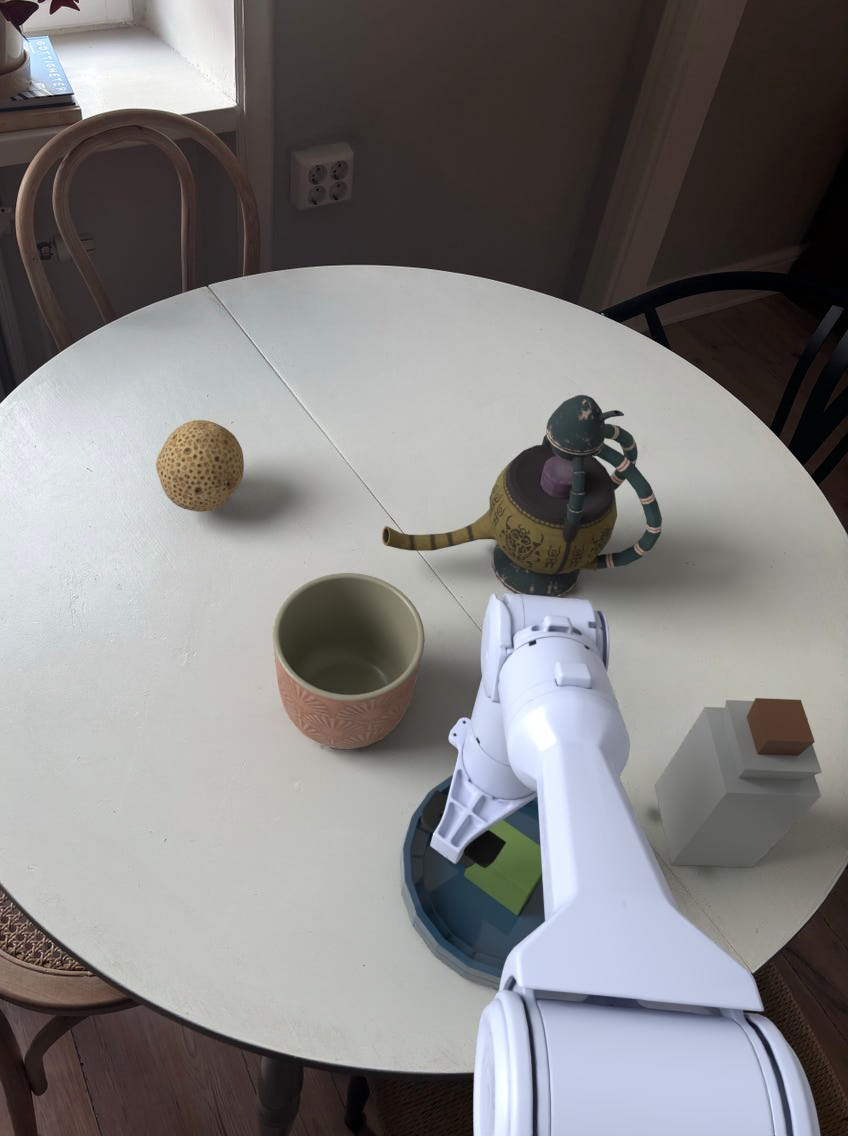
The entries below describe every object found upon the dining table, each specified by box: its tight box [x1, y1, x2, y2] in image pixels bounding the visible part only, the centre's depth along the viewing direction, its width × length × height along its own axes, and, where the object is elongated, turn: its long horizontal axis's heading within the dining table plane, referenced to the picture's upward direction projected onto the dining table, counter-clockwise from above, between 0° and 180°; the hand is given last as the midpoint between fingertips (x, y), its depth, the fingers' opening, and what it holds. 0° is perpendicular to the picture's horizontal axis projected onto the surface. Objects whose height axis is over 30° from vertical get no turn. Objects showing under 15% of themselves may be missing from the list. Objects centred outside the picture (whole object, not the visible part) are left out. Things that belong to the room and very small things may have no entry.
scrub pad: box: [464, 820, 542, 916], centre depth 72 cm, size 5×4×5 cm
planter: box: [272, 572, 426, 750], centre depth 80 cm, size 12×12×11 cm
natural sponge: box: [155, 419, 245, 513], centre depth 96 cm, size 9×9×10 cm
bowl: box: [399, 773, 545, 991], centre depth 73 cm, size 16×16×4 cm
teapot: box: [381, 394, 663, 598], centre depth 87 cm, size 12×25×23 cm, turn 94°
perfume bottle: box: [654, 697, 823, 868], centre depth 71 cm, size 7×7×18 cm
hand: (485, 815), depth 69 cm, fingers open, 7 cm apart
